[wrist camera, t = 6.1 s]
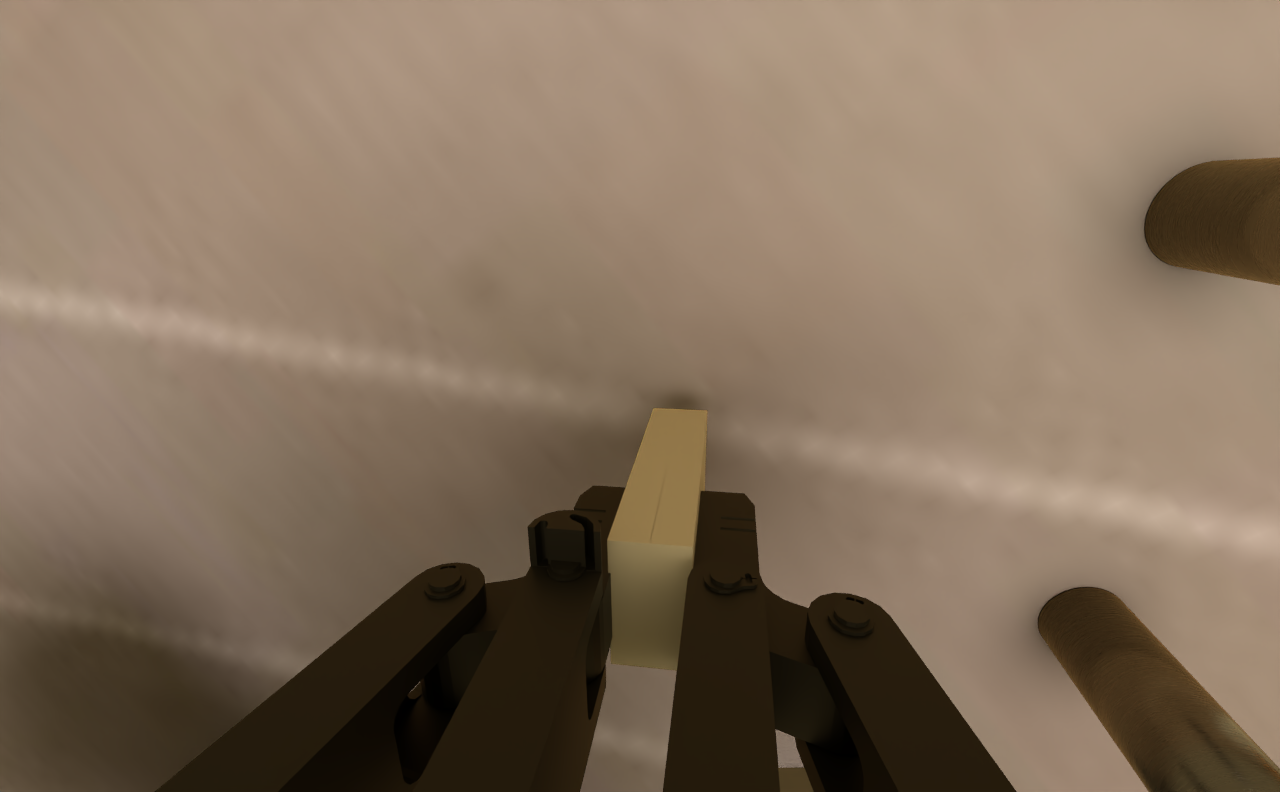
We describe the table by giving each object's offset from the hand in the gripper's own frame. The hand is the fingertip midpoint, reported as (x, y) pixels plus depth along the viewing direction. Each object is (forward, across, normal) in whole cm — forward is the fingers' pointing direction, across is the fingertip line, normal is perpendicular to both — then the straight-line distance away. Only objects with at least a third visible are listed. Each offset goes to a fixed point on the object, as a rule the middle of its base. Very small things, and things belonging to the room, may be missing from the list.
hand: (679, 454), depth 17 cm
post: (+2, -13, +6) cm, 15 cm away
